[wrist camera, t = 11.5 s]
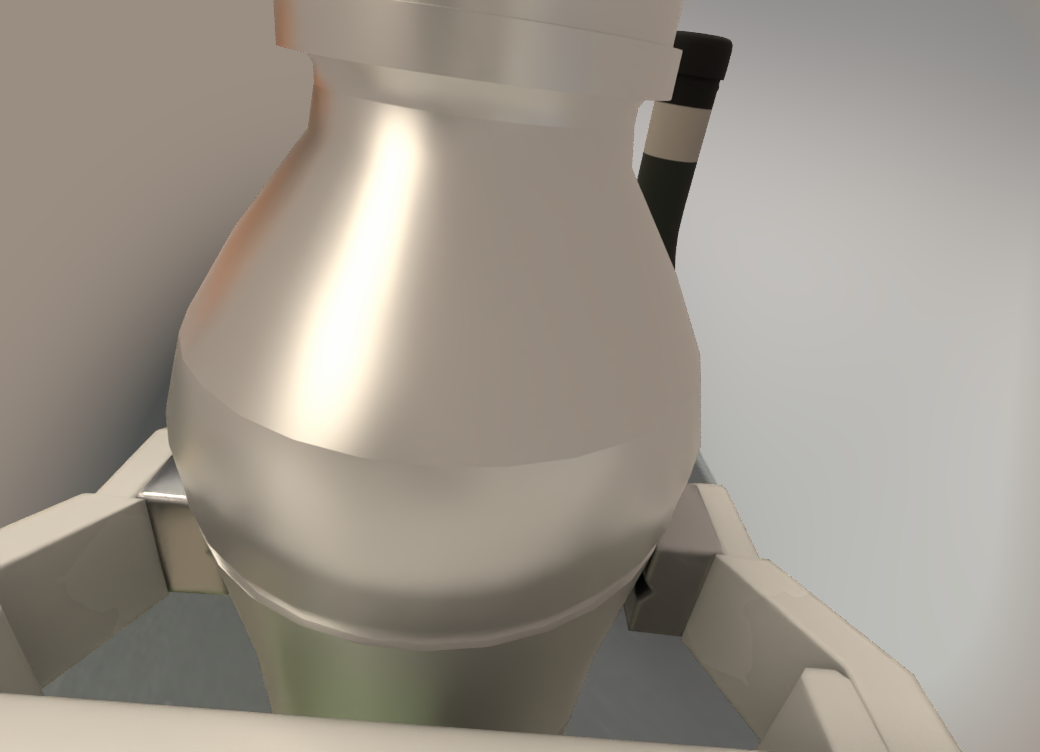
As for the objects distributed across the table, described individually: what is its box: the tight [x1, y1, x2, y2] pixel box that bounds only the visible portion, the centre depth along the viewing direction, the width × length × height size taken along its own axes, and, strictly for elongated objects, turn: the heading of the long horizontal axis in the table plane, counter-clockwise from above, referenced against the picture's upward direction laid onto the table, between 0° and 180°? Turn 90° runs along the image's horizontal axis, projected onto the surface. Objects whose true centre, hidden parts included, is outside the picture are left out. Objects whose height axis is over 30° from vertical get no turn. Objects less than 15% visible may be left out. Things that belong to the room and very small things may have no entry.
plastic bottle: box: [166, 0, 701, 736], centre depth 10 cm, size 6×7×20 cm
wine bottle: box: [637, 31, 732, 270], centre depth 33 cm, size 8×8×30 cm
